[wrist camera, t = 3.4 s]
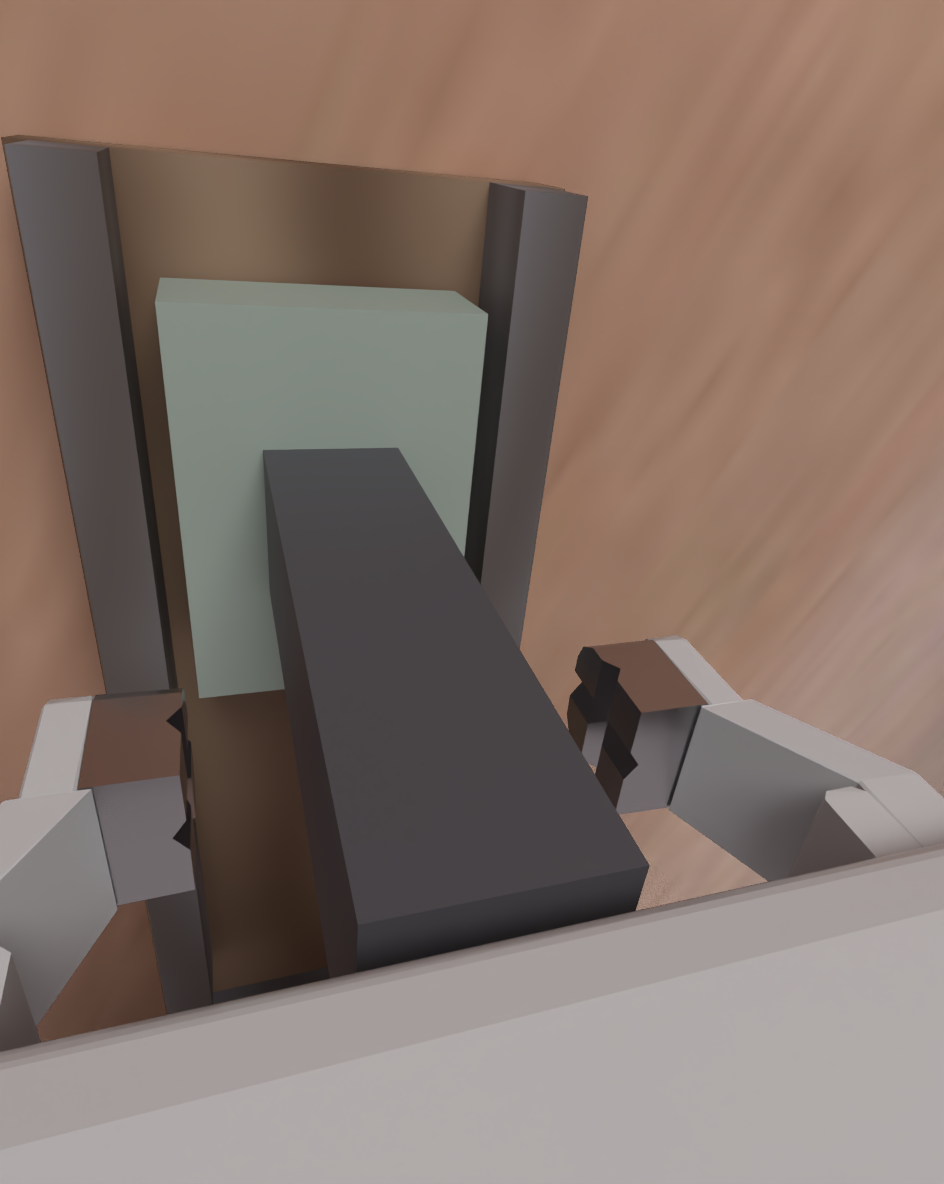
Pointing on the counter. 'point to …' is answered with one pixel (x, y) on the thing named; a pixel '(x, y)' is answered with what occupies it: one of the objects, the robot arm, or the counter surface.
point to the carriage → (376, 615)
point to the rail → (146, 475)
